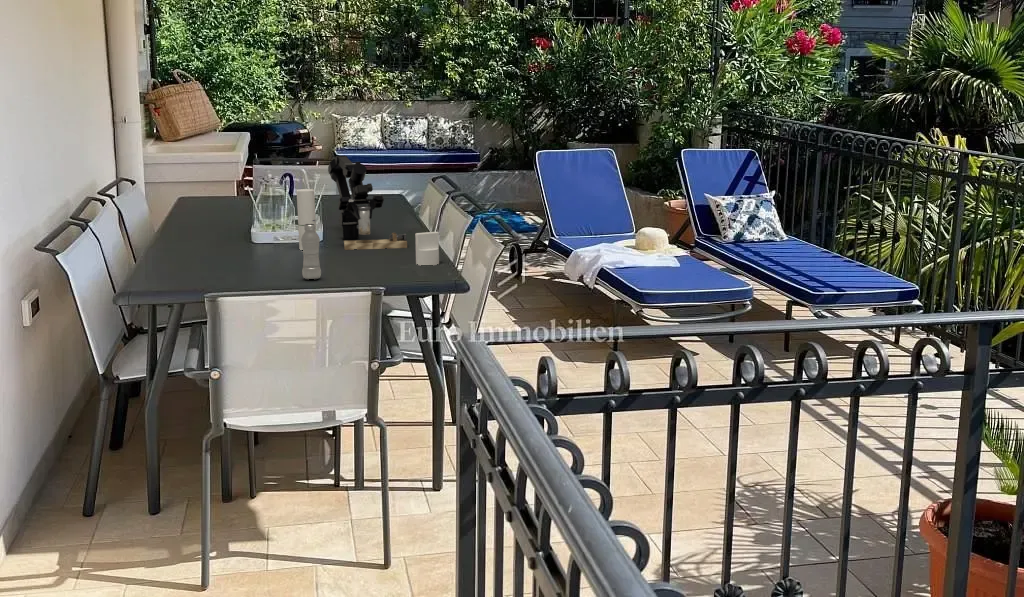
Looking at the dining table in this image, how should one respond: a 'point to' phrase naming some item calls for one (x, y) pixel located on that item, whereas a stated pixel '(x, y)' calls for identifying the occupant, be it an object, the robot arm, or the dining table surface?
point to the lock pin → (398, 237)
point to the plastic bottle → (310, 253)
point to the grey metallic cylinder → (364, 219)
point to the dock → (375, 244)
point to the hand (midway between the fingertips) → (365, 218)
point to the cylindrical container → (305, 210)
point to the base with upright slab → (427, 248)
